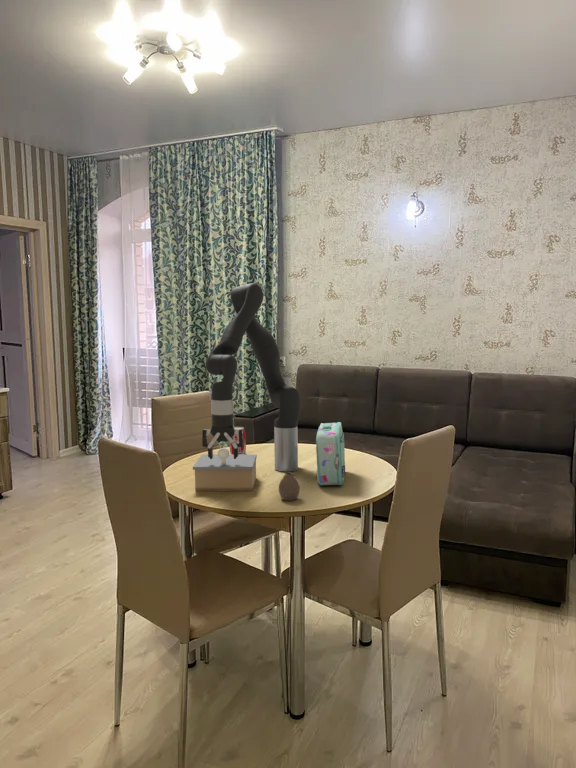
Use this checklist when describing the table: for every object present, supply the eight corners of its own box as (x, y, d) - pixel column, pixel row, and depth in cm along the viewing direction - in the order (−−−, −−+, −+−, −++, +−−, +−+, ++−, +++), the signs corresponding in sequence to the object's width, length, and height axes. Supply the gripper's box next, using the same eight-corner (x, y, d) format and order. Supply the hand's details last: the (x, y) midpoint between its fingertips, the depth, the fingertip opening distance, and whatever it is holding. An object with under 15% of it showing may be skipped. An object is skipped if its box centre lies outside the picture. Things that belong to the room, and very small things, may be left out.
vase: (276, 496, 189) (276, 471, 188) (296, 495, 191) (296, 470, 190) (281, 503, 183) (281, 476, 182) (301, 501, 184) (301, 475, 183)
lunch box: (345, 490, 196) (345, 430, 193) (315, 490, 196) (315, 429, 194) (344, 470, 222) (344, 416, 220) (318, 470, 223) (318, 416, 220)
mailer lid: (256, 457, 211) (256, 438, 210) (252, 469, 193) (252, 449, 192) (201, 457, 211) (201, 438, 211) (192, 469, 194) (192, 449, 193)
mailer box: (256, 478, 212) (255, 457, 211) (252, 490, 196) (252, 468, 195) (203, 478, 212) (202, 457, 211) (195, 490, 196) (194, 468, 196)
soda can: (249, 454, 249) (248, 428, 247) (236, 457, 244) (236, 430, 243) (239, 452, 254) (238, 425, 253) (226, 454, 249) (226, 428, 248)
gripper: (244, 410, 198) (244, 456, 200) (203, 410, 198) (204, 456, 200) (241, 414, 190) (242, 461, 192) (199, 414, 191) (200, 461, 192)
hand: (223, 458), depth 196 cm, fingers open, 8 cm apart
